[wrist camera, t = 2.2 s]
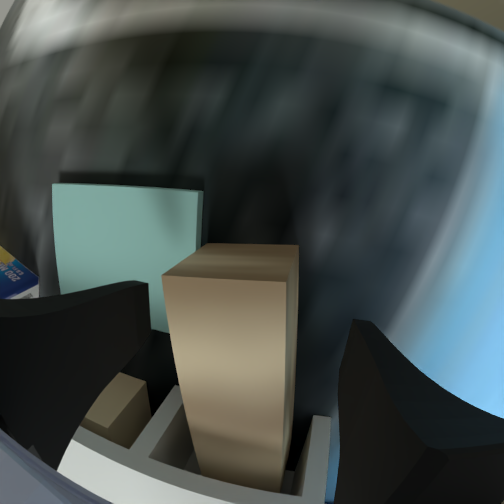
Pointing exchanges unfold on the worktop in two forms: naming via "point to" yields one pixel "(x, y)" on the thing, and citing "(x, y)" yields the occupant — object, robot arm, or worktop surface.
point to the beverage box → (16, 278)
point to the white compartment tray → (171, 455)
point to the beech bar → (237, 357)
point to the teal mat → (124, 236)
